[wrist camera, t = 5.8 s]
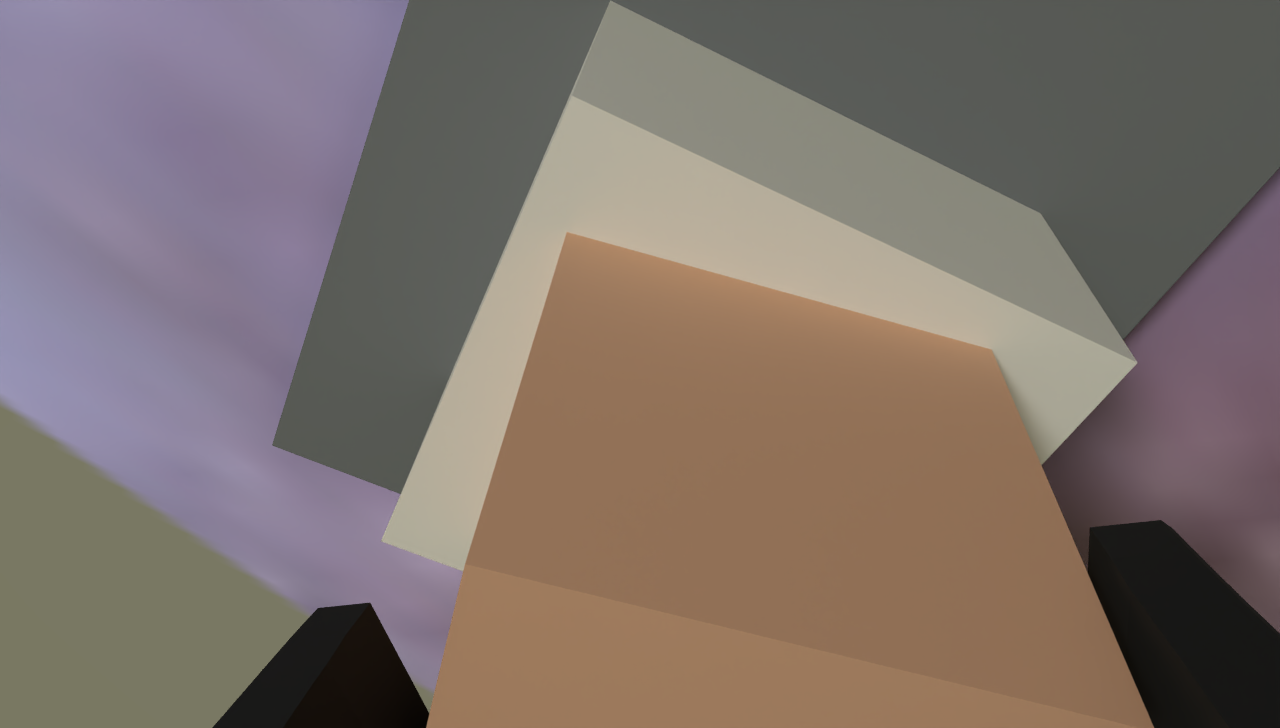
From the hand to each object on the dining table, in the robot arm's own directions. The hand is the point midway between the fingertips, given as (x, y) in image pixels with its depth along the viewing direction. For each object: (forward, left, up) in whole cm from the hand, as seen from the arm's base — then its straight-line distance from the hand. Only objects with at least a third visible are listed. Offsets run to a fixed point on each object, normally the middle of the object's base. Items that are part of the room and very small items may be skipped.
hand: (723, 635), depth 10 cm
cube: (0, 0, -3) cm, 3 cm away
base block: (0, 0, -7) cm, 7 cm away
